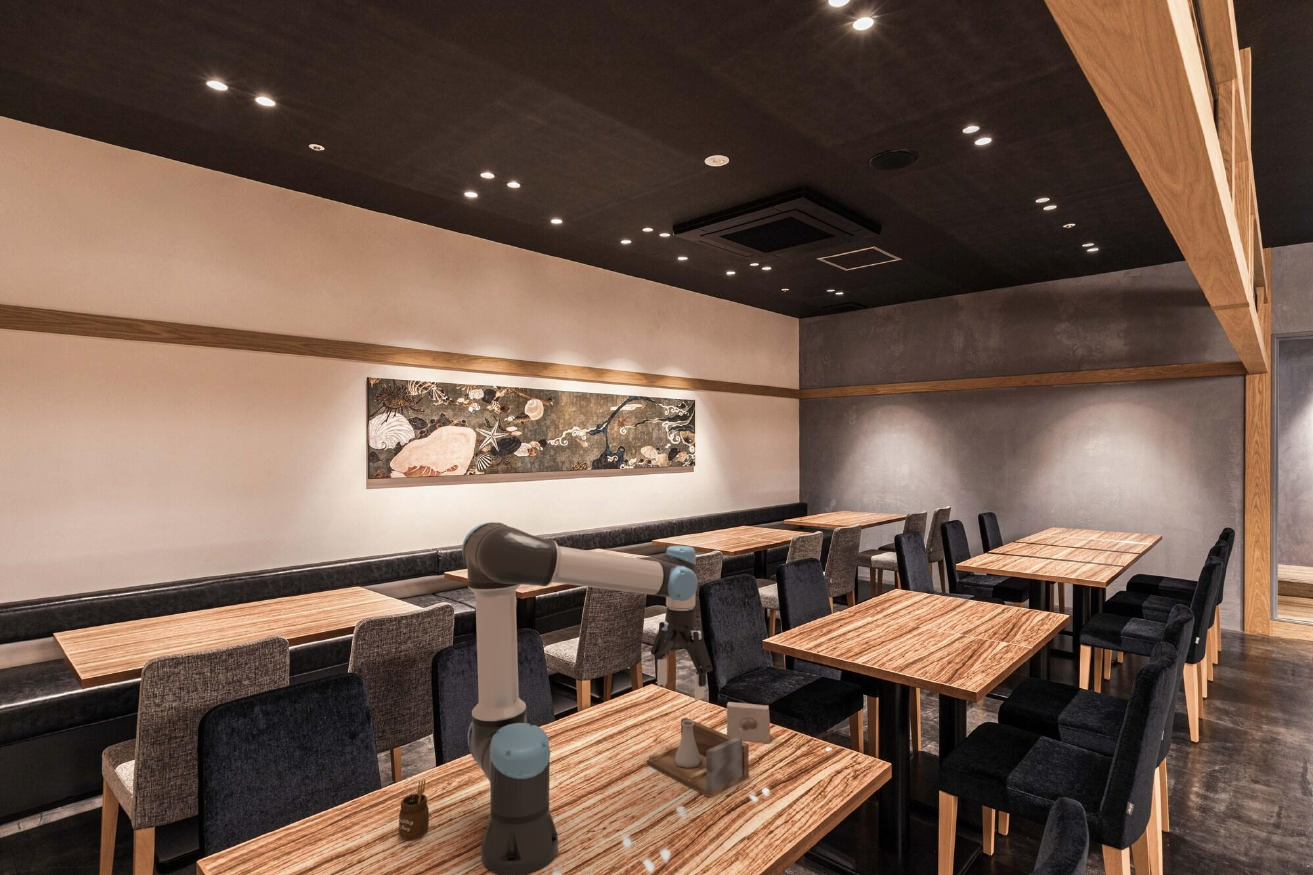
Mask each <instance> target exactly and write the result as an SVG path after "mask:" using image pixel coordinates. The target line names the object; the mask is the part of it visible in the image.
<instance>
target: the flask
mask: <svg viewBox="0 0 1313 875" xmlns="http://www.w3.org/2000/svg"><path fill="white" fill-rule="evenodd" d="M693 721H694V720H692V721H689V720H686V721H683V722H682V726H683V732H682V738H680V740H679V741H680V742H679V743H680V744H679V743H678V744H679V747H678V750H677V753H676V756H675V759H674V762H675V764H676V766H680V767H685V768H692V767H698V766H699V765H700V764H701V763H702V760H701V757H700V754H699V751H698V748H697V745H696V742H695V739H694V734H693V725H694V722H693Z"/></svg>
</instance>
